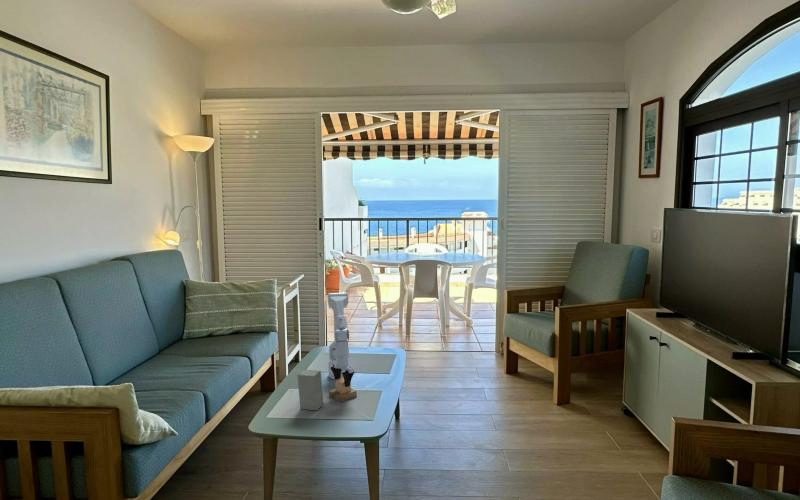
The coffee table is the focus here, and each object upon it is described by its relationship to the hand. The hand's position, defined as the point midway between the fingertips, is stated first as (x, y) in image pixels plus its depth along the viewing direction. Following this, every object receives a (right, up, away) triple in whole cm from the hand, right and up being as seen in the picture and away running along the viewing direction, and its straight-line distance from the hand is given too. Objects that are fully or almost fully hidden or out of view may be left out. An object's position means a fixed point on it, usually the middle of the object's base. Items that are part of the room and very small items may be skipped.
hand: (342, 384), depth 209 cm
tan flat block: (0, -6, +1) cm, 6 cm away
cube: (0, -3, 0) cm, 3 cm away
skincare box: (-12, -7, -11) cm, 18 cm away
